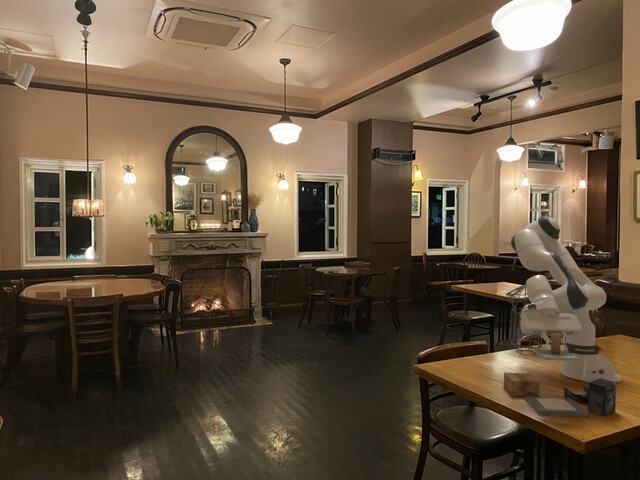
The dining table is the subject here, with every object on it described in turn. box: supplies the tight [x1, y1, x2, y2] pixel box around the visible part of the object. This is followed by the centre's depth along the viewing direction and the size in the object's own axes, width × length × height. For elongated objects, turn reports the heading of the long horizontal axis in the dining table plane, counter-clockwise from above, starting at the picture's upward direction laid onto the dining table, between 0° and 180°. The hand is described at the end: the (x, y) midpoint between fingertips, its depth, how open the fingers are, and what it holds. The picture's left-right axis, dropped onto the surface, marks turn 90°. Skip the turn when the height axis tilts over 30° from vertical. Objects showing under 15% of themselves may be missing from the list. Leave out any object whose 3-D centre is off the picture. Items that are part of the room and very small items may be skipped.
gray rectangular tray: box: [525, 396, 589, 418], centre depth 162 cm, size 16×13×2 cm
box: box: [587, 378, 617, 417], centre depth 160 cm, size 8×6×11 cm
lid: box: [533, 333, 579, 362], centre depth 161 cm, size 11×11×8 cm
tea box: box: [502, 372, 540, 398], centre depth 178 cm, size 10×10×6 cm
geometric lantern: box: [505, 284, 543, 356], centre depth 233 cm, size 16×16×35 cm
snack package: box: [562, 384, 589, 403], centre depth 170 cm, size 12×6×12 cm
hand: (556, 344), depth 161 cm, fingers closed on lid, 3 cm apart
